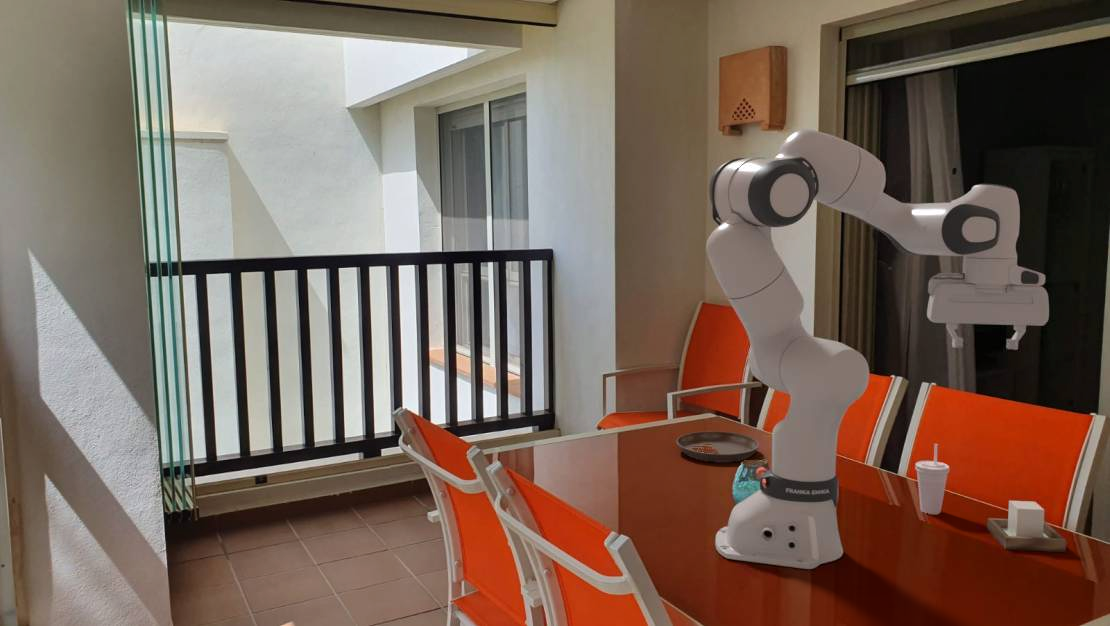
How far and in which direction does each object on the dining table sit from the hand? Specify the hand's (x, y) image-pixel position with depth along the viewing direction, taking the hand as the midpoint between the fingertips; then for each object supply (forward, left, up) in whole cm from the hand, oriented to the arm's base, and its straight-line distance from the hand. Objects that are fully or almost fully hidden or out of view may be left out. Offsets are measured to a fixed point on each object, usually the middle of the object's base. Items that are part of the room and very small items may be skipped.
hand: (984, 348), depth 158 cm
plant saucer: (-47, +49, -36) cm, 77 cm away
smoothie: (-5, +11, -36) cm, 38 cm away
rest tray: (+8, -3, -35) cm, 36 cm away
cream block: (+7, -3, -35) cm, 36 cm away
